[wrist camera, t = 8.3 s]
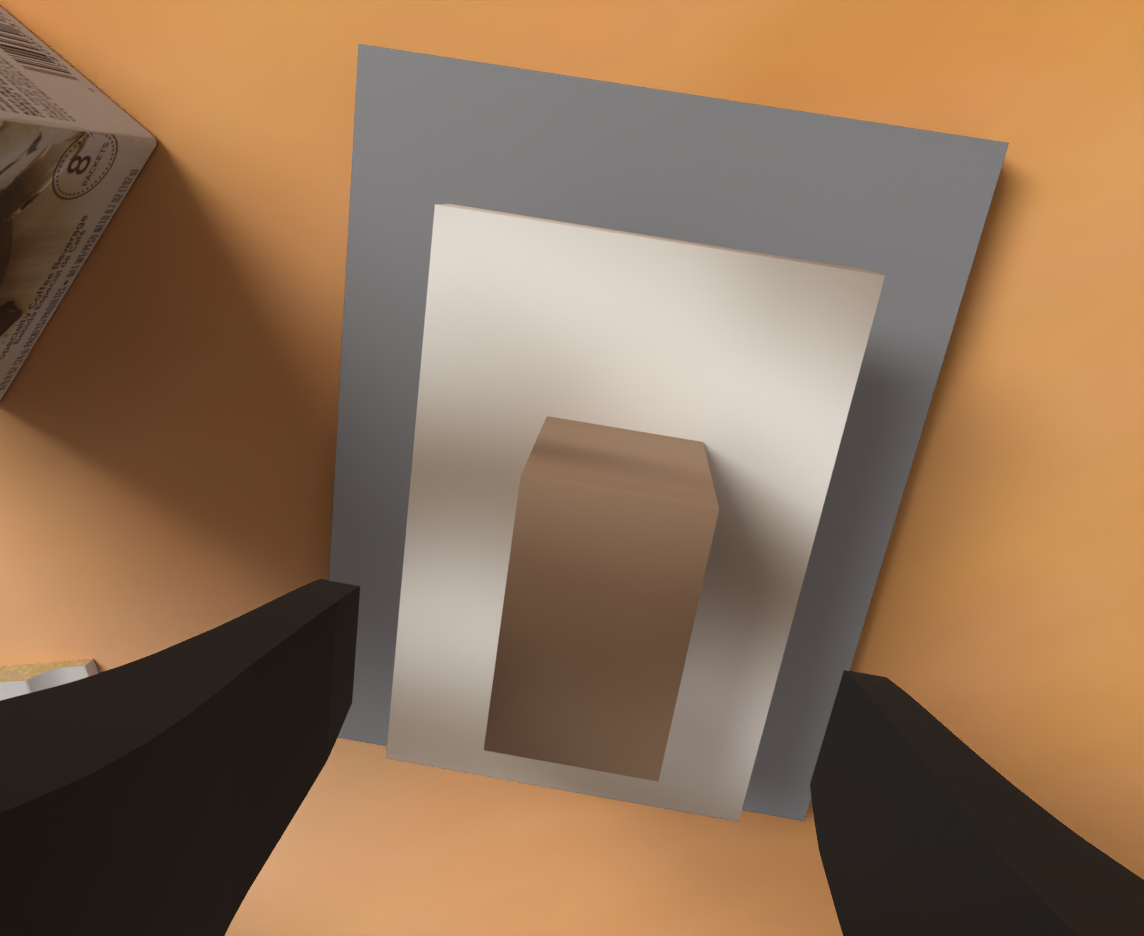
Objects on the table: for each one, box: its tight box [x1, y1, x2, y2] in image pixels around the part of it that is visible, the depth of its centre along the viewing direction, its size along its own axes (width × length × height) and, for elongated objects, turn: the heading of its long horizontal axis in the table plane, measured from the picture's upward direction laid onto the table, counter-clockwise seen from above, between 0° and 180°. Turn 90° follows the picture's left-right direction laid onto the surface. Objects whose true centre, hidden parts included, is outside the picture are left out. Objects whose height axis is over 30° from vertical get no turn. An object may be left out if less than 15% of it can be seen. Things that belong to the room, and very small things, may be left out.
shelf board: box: [386, 204, 885, 822], centre depth 15 cm, size 12×8×5 cm, turn 171°
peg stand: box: [329, 44, 1009, 821], centre depth 19 cm, size 14×18×4 cm
